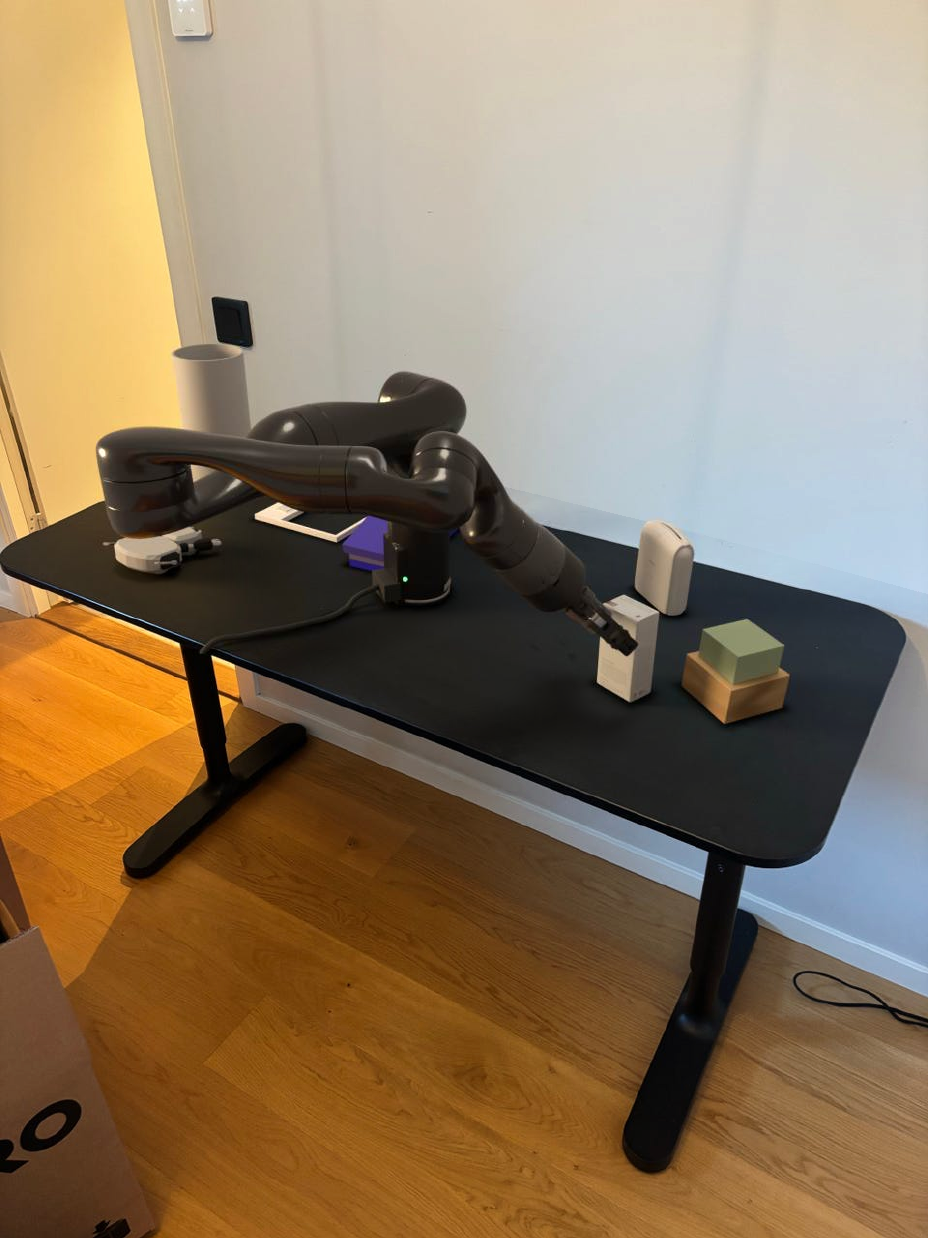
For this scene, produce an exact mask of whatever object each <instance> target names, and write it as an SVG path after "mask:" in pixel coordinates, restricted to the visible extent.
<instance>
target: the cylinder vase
mask: <svg viewBox="0 0 928 1238" xmlns="http://www.w3.org/2000/svg"><path fill="white" fill-rule="evenodd" d="M171 358H172V365H173V371H174V379H175V387H176V392H177V393H176V394H177V400H178V408H179V413H180V414H179V415H180V423H181V429H186V430H193V431H200V432H208V433H215V434H223V435H229V436H236V437H242V438H244V437H245V436H246V435H247V434H248V433H249V431H250V430H251V429H252V424H251V423H252V422H251V415H250V404H249V395H248V386H247V375H246V365H245V364H246V363H245V355H244V349H243V348H242V347H240V346H237V345H234V344H226V343H197V344H191V345H186V346H183V347H178V348H176V349H174V350H173V351H172V352H171ZM191 469H192V475H193V482H194V481H196V480H198V479H200V478H202V477H204V476H206V475H207V474H209V473H211V472H212V471H213V470H215V469H211V468H208V467H203V466H197V465H191Z"/></svg>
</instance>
